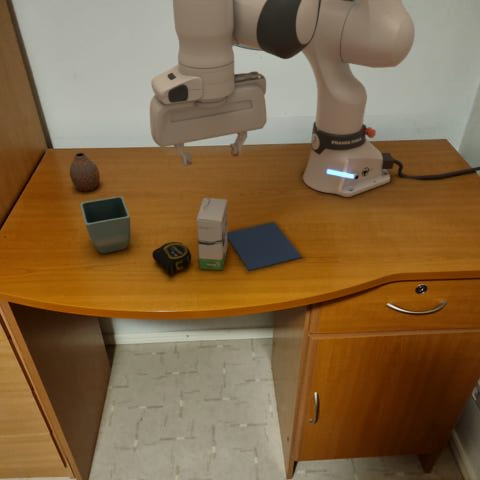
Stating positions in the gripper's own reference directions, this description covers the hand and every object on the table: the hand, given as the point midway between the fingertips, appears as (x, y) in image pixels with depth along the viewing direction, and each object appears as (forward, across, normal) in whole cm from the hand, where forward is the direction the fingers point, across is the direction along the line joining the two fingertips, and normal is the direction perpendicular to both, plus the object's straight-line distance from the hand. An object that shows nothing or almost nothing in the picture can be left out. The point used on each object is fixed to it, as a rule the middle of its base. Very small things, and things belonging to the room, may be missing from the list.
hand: (211, 159), depth 87 cm
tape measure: (+21, +10, +2) cm, 23 cm away
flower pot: (+21, +20, -10) cm, 31 cm away
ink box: (+21, +1, +2) cm, 21 cm away
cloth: (+21, -10, +2) cm, 23 cm away
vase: (+21, +21, -38) cm, 48 cm away
